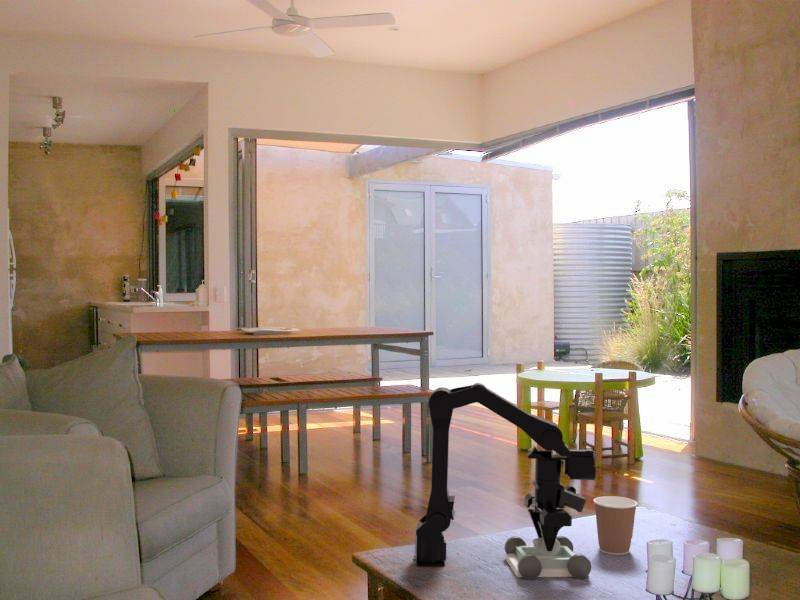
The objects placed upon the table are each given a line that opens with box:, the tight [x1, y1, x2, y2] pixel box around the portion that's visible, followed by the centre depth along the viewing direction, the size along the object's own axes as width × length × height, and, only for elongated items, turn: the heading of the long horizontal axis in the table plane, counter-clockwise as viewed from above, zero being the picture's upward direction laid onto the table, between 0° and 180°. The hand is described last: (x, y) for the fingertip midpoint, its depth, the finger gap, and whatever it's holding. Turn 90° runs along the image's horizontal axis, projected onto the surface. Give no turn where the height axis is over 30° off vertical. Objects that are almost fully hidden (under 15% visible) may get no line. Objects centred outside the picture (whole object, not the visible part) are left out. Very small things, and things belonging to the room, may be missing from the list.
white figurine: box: [532, 533, 560, 556], centre depth 192 cm, size 5×7×8 cm
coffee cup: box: [593, 495, 638, 556], centre depth 206 cm, size 10×10×12 cm
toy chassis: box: [504, 535, 592, 581], centre depth 193 cm, size 16×15×5 cm
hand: (546, 547), depth 193 cm, fingers closed on white figurine, 5 cm apart
